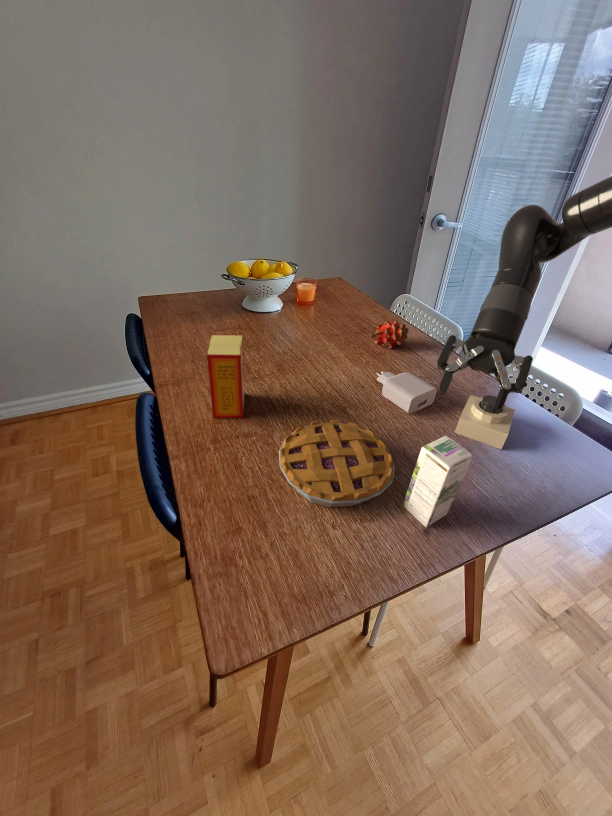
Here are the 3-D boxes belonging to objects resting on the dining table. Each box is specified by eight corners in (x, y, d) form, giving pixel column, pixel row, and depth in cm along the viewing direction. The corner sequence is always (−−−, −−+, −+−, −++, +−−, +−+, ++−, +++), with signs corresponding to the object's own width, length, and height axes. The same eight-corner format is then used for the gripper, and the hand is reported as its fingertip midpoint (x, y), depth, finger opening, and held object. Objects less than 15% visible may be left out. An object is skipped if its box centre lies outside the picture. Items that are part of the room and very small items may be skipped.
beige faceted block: (508, 423, 93) (518, 402, 89) (501, 449, 85) (511, 428, 81) (465, 409, 96) (472, 388, 93) (454, 432, 89) (462, 411, 85)
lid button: (502, 407, 88) (505, 399, 87) (499, 416, 85) (502, 409, 84) (481, 400, 90) (484, 392, 89) (478, 409, 87) (480, 402, 85)
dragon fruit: (407, 350, 124) (371, 357, 122) (399, 326, 126) (363, 332, 124) (417, 337, 116) (378, 345, 114) (408, 312, 118) (369, 319, 116)
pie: (267, 441, 82) (267, 422, 80) (364, 428, 88) (368, 409, 85) (294, 526, 66) (295, 506, 63) (412, 503, 71) (418, 483, 68)
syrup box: (423, 493, 73) (444, 432, 65) (449, 515, 69) (474, 454, 61) (401, 506, 70) (420, 444, 62) (427, 529, 67) (450, 467, 58)
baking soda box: (217, 394, 95) (211, 332, 86) (244, 394, 96) (242, 333, 87) (213, 418, 88) (206, 353, 78) (243, 417, 88) (240, 354, 79)
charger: (389, 375, 107) (433, 403, 98) (364, 385, 103) (407, 415, 93) (393, 360, 104) (438, 387, 95) (367, 369, 100) (411, 398, 90)
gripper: (541, 337, 70) (508, 421, 68) (459, 317, 75) (427, 394, 74) (552, 318, 63) (515, 412, 61) (461, 297, 68) (425, 383, 67)
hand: (467, 402), depth 67 cm, fingers open, 8 cm apart
